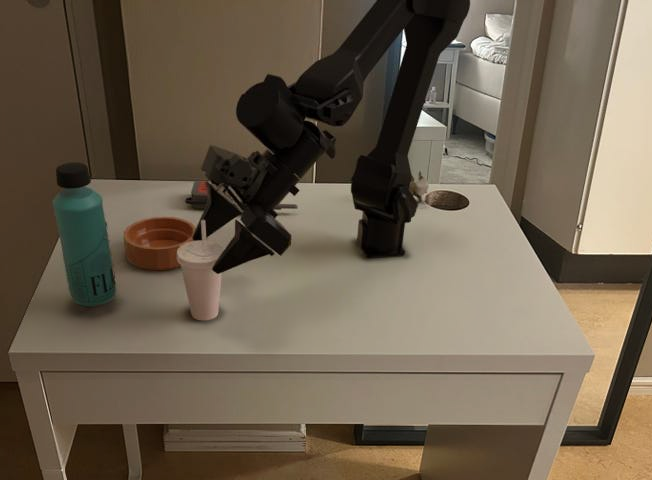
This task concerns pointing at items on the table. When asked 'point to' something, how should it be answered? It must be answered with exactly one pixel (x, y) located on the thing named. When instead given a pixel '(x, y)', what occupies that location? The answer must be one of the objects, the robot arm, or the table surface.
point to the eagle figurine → (418, 187)
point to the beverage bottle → (83, 237)
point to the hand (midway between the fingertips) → (204, 255)
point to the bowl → (157, 241)
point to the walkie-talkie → (201, 197)
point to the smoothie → (201, 275)
